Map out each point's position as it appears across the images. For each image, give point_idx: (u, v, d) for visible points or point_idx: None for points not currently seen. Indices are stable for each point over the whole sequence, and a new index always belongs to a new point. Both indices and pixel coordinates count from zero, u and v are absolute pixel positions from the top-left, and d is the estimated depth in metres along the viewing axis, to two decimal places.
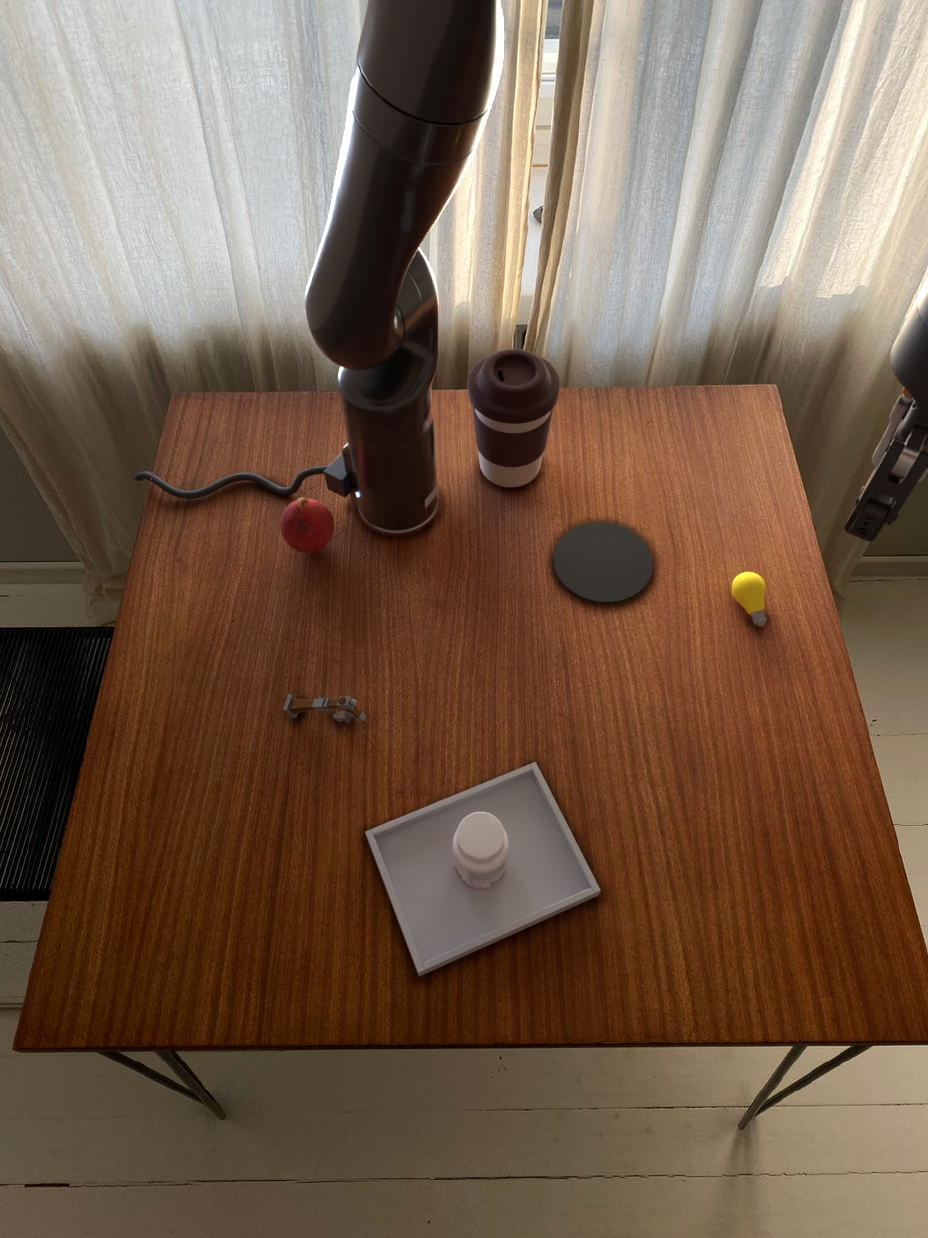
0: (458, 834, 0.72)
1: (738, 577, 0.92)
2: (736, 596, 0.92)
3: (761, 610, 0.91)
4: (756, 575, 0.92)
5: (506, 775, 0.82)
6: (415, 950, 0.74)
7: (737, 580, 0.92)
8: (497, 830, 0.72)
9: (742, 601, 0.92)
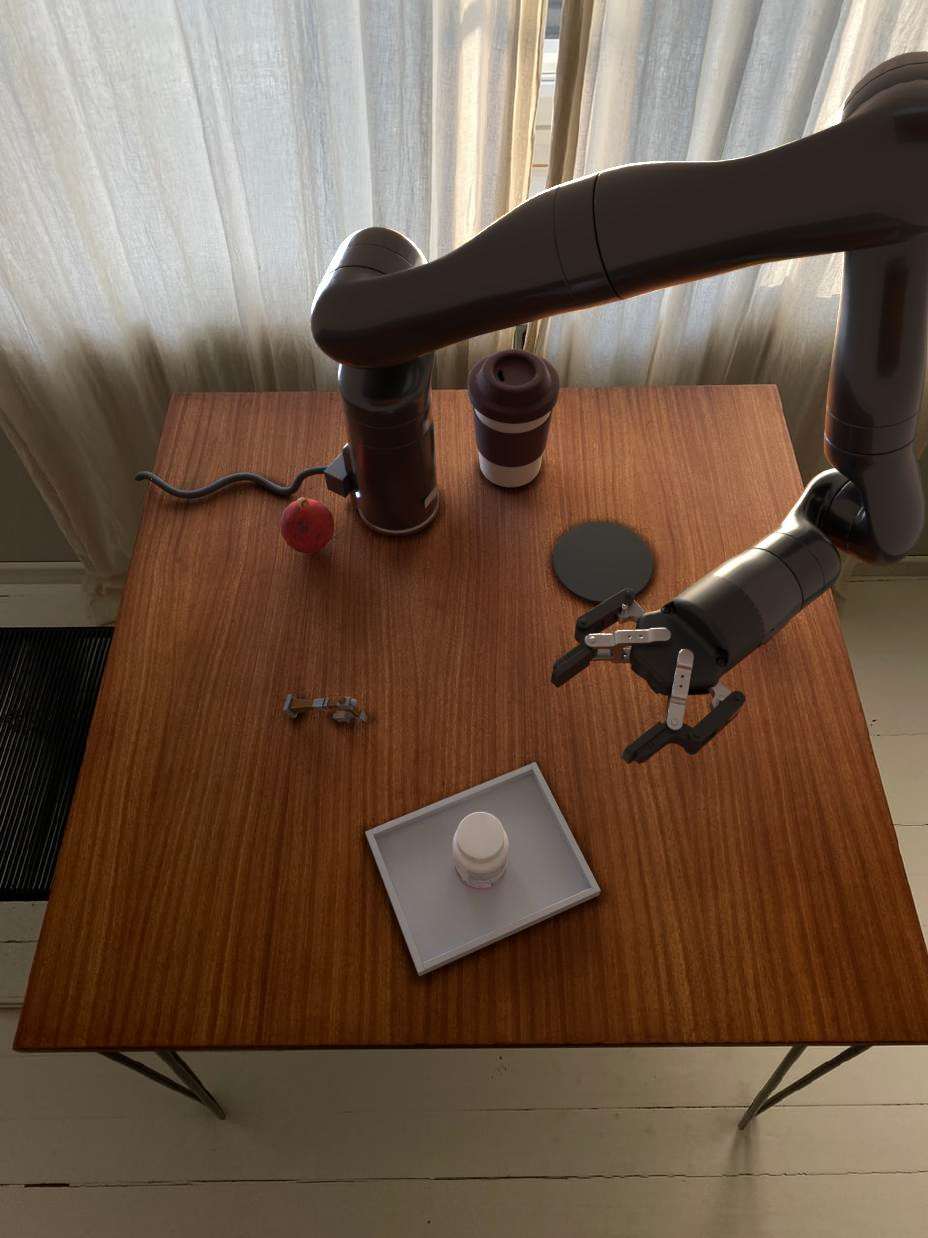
0: (458, 834, 0.72)
1: None
2: None
3: None
4: None
5: (506, 775, 0.82)
6: (415, 950, 0.74)
7: None
8: (497, 830, 0.72)
9: None
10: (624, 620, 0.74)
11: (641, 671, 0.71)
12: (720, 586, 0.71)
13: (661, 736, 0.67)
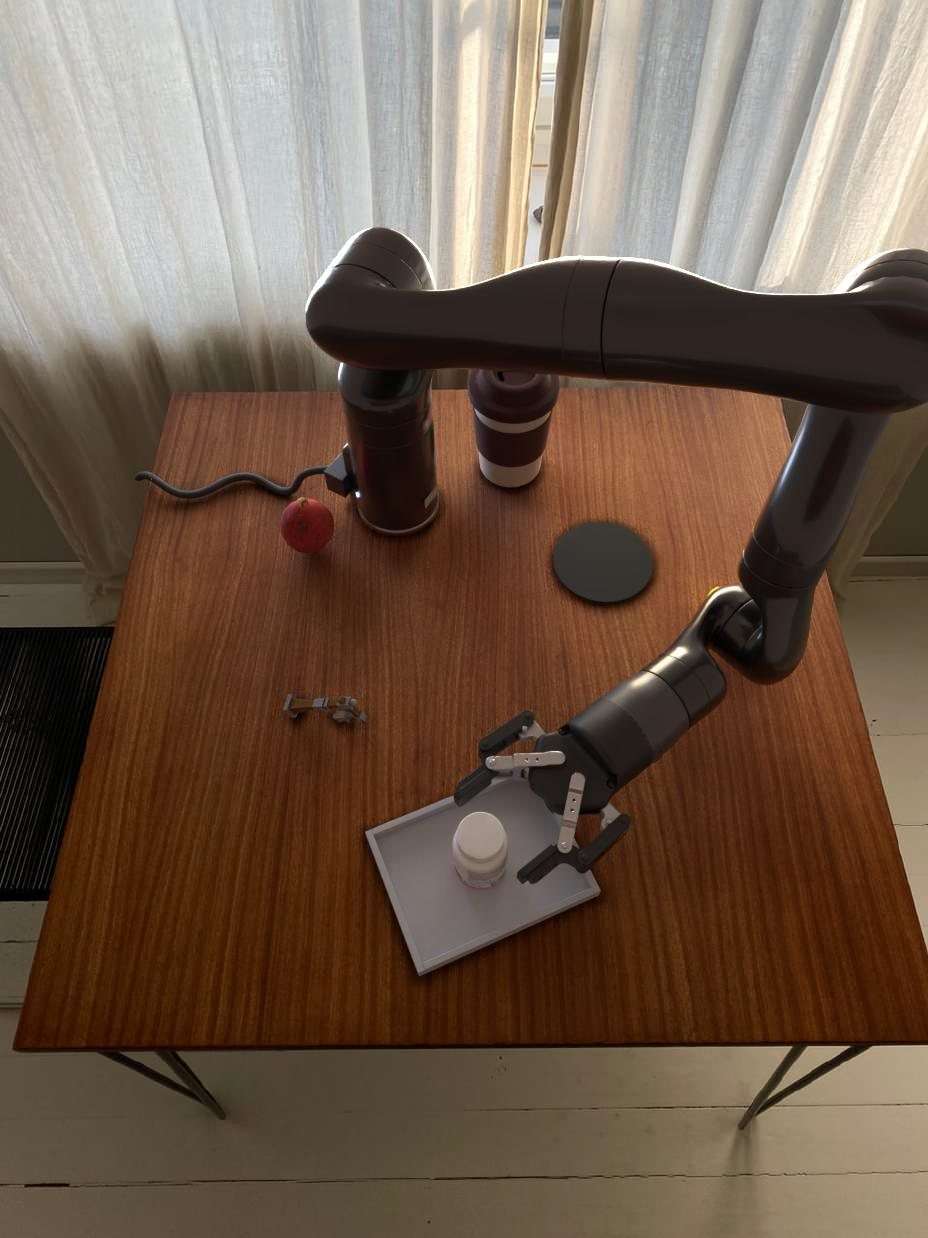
0: (458, 834, 0.72)
1: None
2: None
3: None
4: None
5: None
6: (415, 950, 0.74)
7: None
8: (497, 830, 0.72)
9: None
10: (525, 740, 0.79)
11: (538, 791, 0.76)
12: (611, 712, 0.76)
13: (552, 859, 0.72)
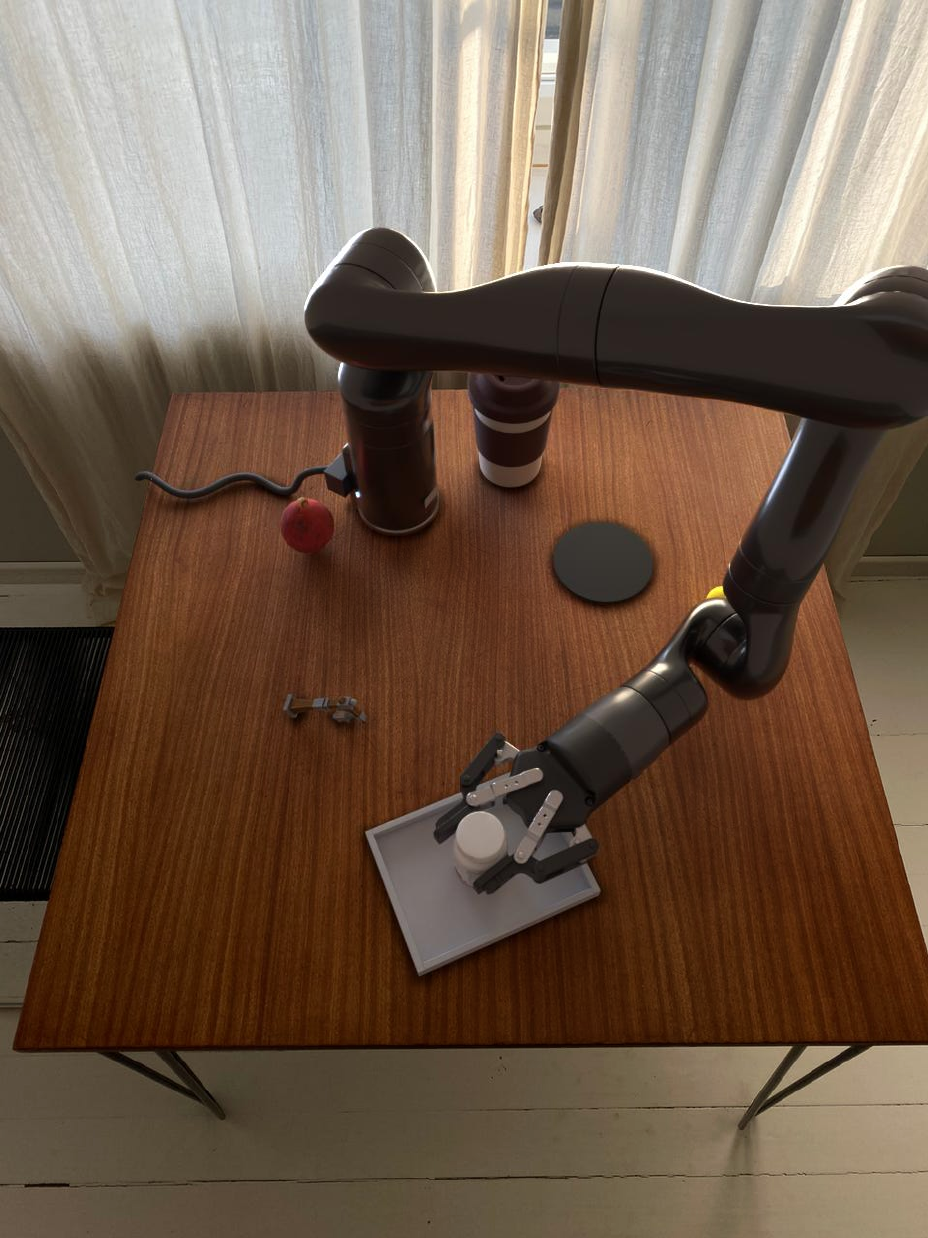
0: (458, 834, 0.72)
1: None
2: None
3: None
4: None
5: (506, 775, 0.82)
6: (415, 950, 0.74)
7: None
8: (497, 829, 0.72)
9: None
10: (502, 763, 0.78)
11: (515, 809, 0.75)
12: (590, 729, 0.75)
13: (508, 869, 0.72)
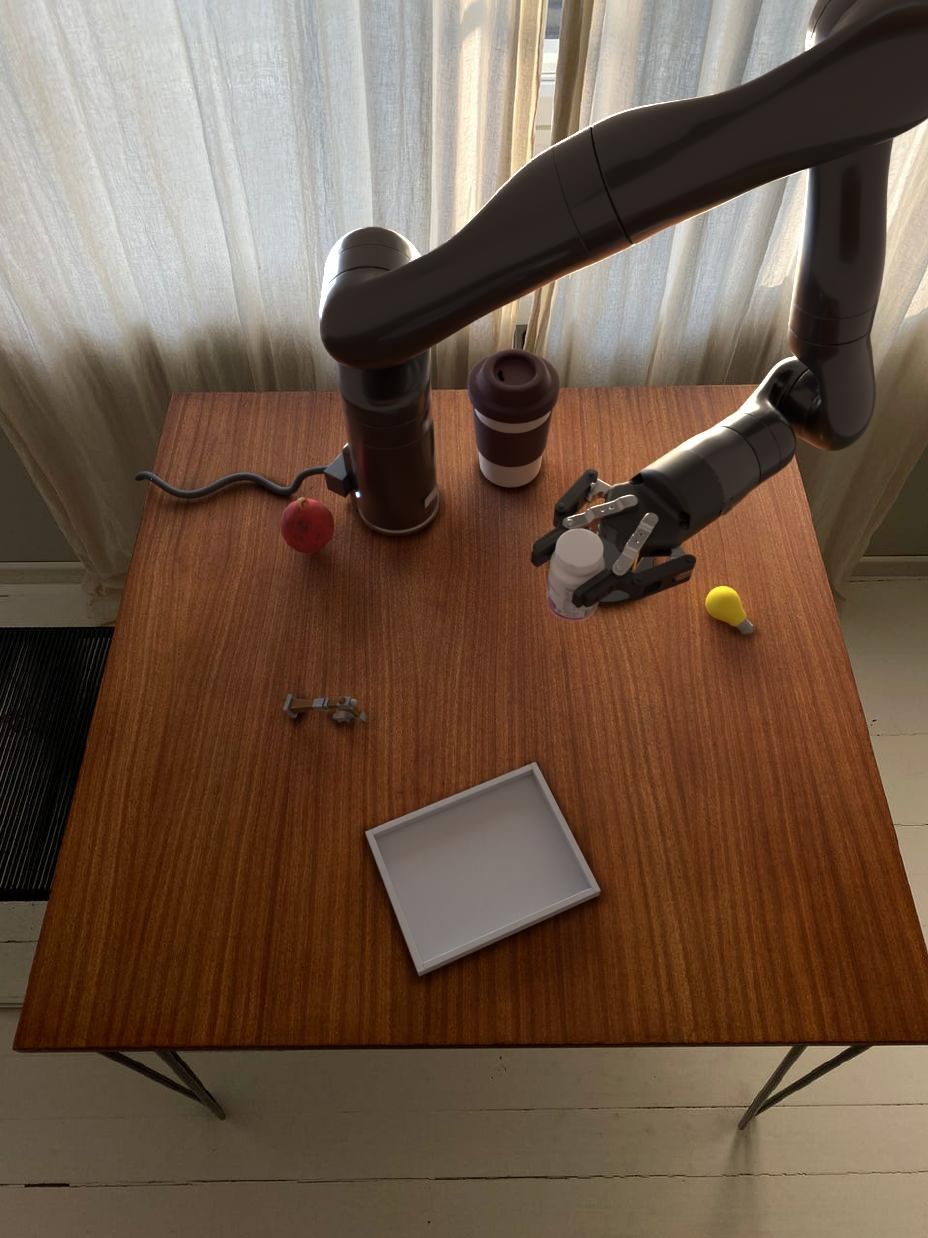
0: (558, 546, 0.73)
1: None
2: None
3: (737, 626, 0.91)
4: (710, 603, 0.91)
5: (506, 775, 0.82)
6: (415, 950, 0.74)
7: None
8: (596, 543, 0.73)
9: None
10: (594, 498, 0.79)
11: (610, 535, 0.77)
12: (683, 456, 0.77)
13: (607, 581, 0.73)
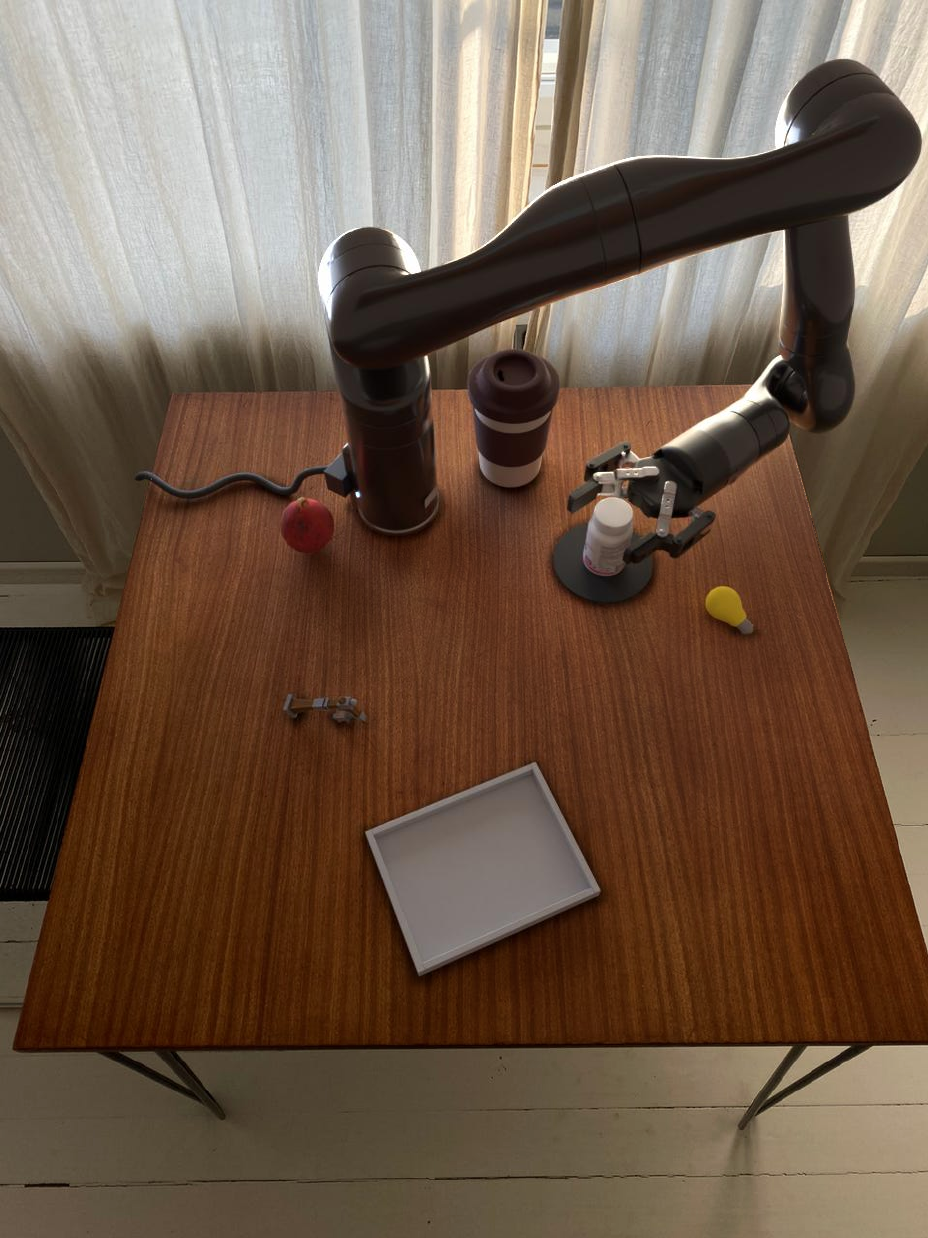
0: (596, 511, 0.89)
1: None
2: None
3: (737, 626, 0.91)
4: (710, 603, 0.91)
5: (506, 775, 0.82)
6: (415, 950, 0.74)
7: None
8: (627, 508, 0.90)
9: None
10: (623, 465, 0.95)
11: (636, 500, 0.93)
12: (697, 435, 0.93)
13: (652, 542, 0.89)
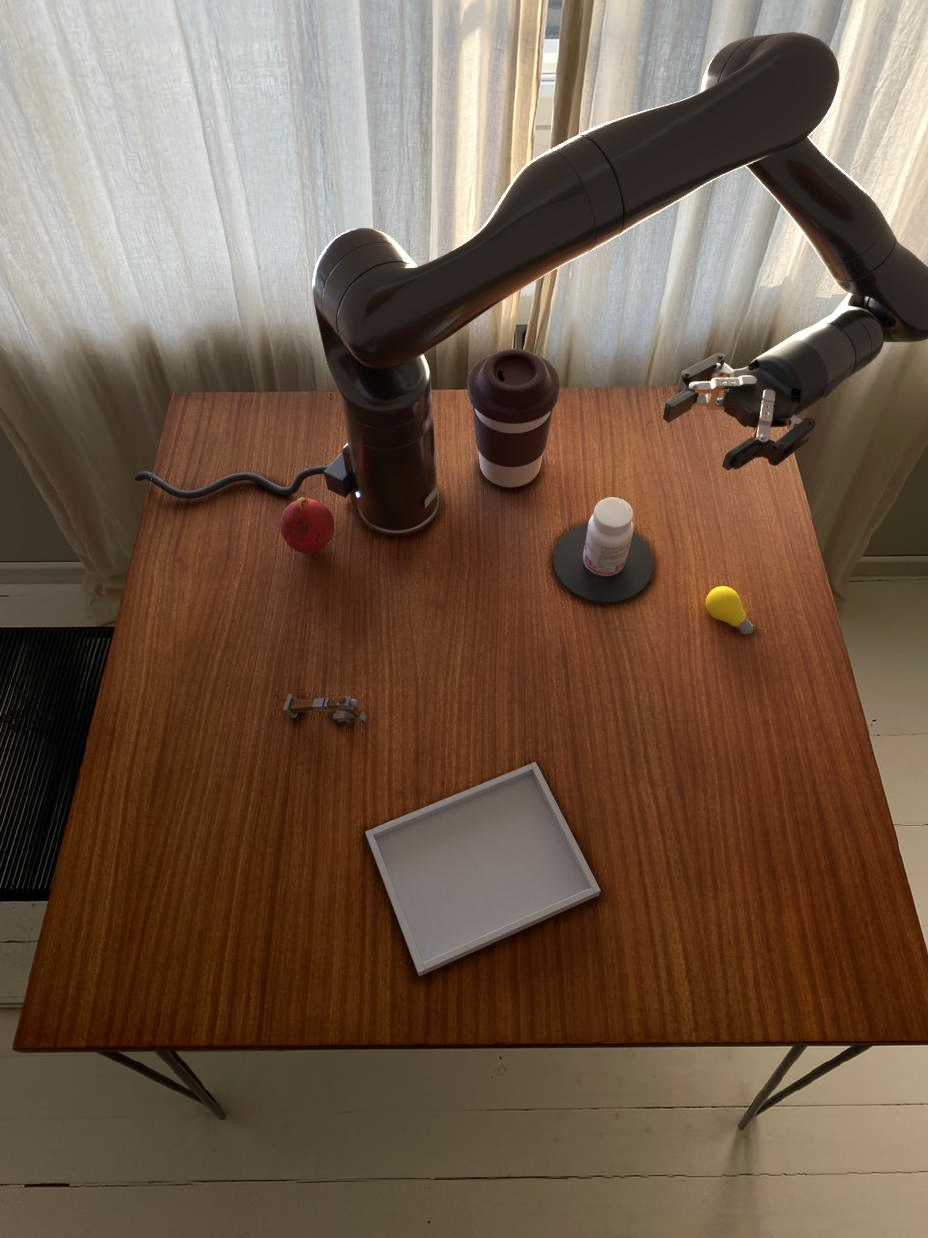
0: (596, 511, 0.89)
1: None
2: None
3: (737, 626, 0.91)
4: (710, 603, 0.91)
5: (506, 775, 0.82)
6: (415, 950, 0.74)
7: None
8: (627, 508, 0.90)
9: None
10: (717, 377, 0.95)
11: (733, 409, 0.92)
12: (794, 344, 0.92)
13: (753, 447, 0.88)
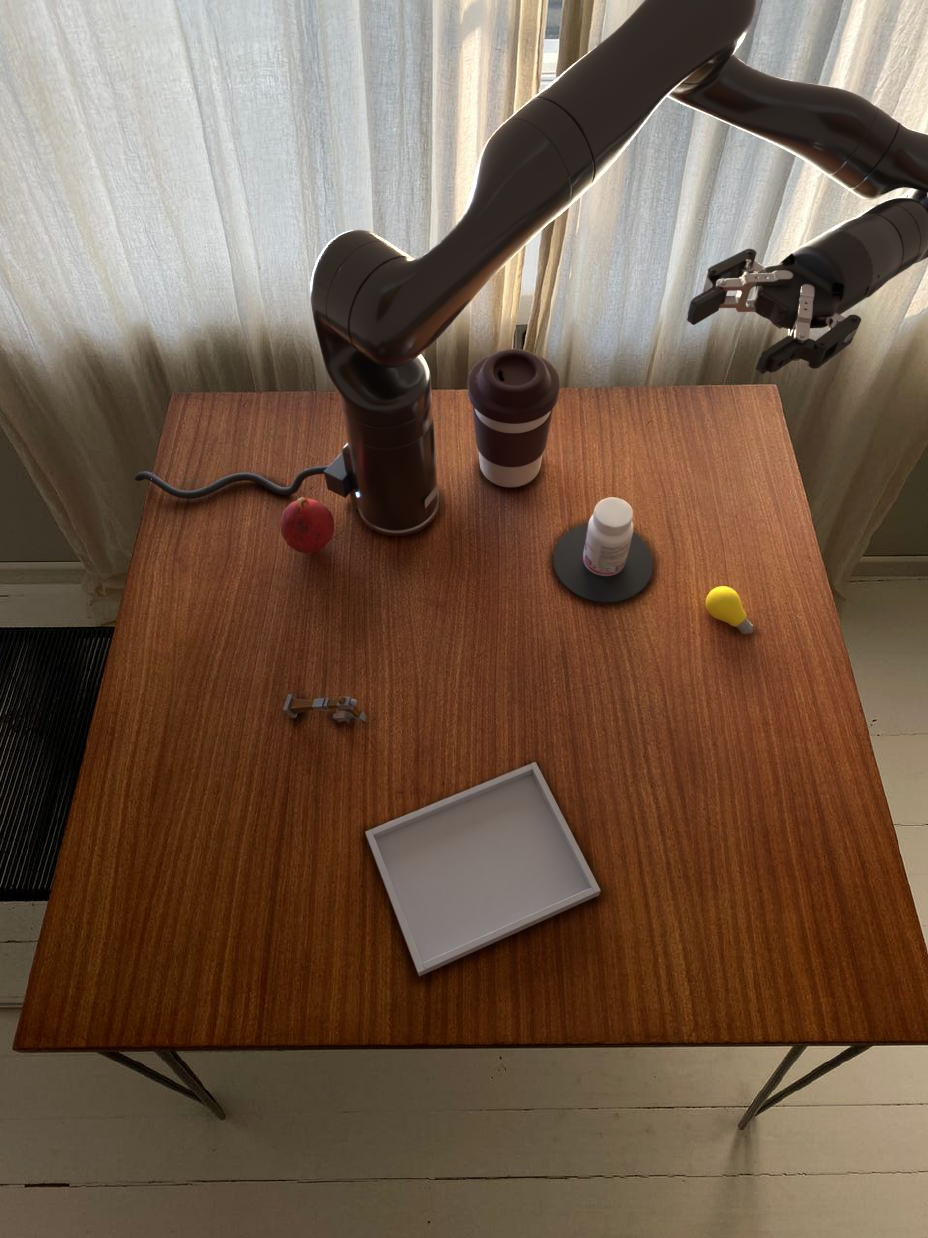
0: (596, 511, 0.89)
1: None
2: None
3: (737, 626, 0.91)
4: (710, 603, 0.91)
5: (506, 775, 0.82)
6: (415, 950, 0.74)
7: None
8: (627, 508, 0.90)
9: None
10: None
11: (766, 309, 0.82)
12: (834, 234, 0.82)
13: (791, 347, 0.78)
